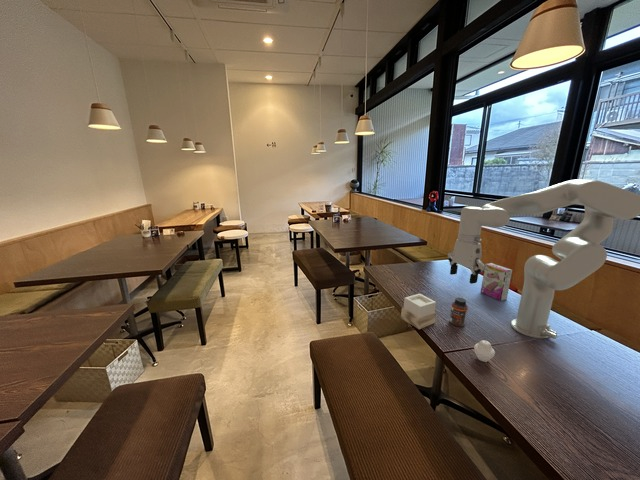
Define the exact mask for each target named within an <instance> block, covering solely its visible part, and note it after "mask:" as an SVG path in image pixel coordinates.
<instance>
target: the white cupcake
mask: <svg viewBox="0 0 640 480" xmlns="http://www.w3.org/2000/svg"><path fill="white" fill-rule="evenodd" d="M473 349H474V353H475V356H476V357H477V359H478V360H479V361H480V362H484V363H487V362H489V361H491V359H492V358H494V357H495V354H496V351H495V350H494V348H493V347H492V344H491V343H490V342H489V341H488V340H483V339H482V340H480V341H479V342H478V343H476V344H475V345H474V346H473Z"/></svg>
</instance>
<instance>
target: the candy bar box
mask: <svg viewBox="0 0 640 480" xmlns="http://www.w3.org/2000/svg"><path fill="white" fill-rule="evenodd" d="M484 264H485V265H486V268H485V269H484V270H483V276H482V280H481V281H482V282H481V288H480V293H481V294H483V295H486V296H488V297H490V298H493V299H495V300H497V301H499V302H503V301H507V300H508V296H509V295H508V294H509V291H510V290H509V289H510V284H511V279H512V275H513V269H510V268H508V267H505V266H501V265H498V264H496V263H493V262H489V263H484Z"/></svg>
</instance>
